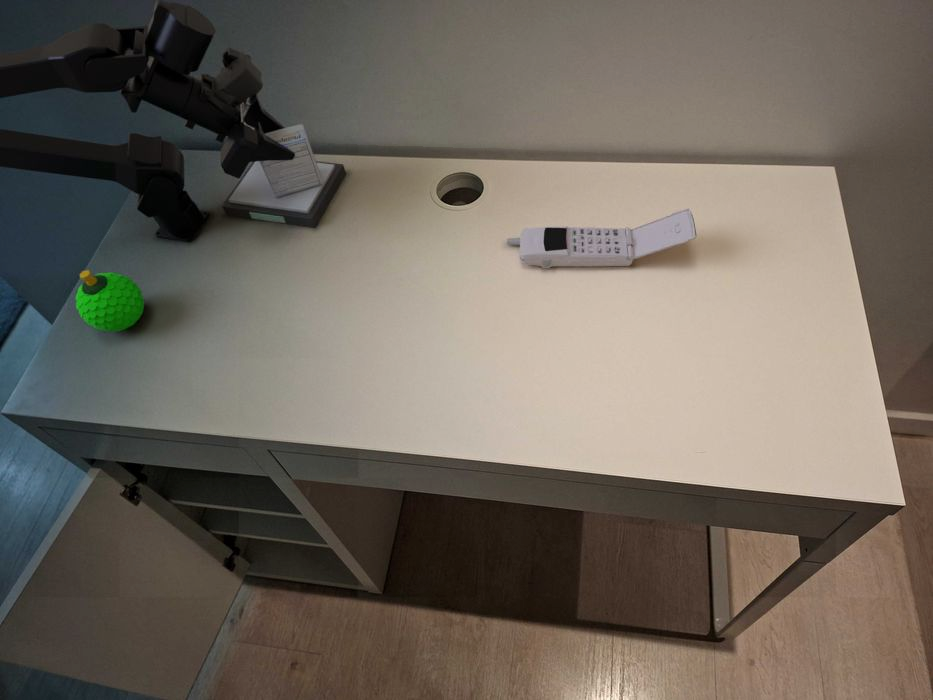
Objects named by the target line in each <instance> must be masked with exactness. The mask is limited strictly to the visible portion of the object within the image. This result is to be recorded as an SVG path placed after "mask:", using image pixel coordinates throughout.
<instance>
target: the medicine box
mask: <svg viewBox="0 0 933 700" xmlns="http://www.w3.org/2000/svg"><path fill="white" fill-rule="evenodd" d="M265 135H266V136H268V137H270V138H271V139H273V140H275V141H276V142H278V143H280V144H281V145H283V146H285V147H286V148H288V149H289V150H291V151H292V152H294V153H295V157H294V158H293V160H272V161H269V160H268V161H259V163H260V165H261V168H262V170H263V172H264V174H265V177H266V179H267V181H268V183H269V185H270V188H271V190H272V192H273V195H274V197H279V196H282V195H286V194H289V193H293V192H296V191H300V190H303V189H307V188H310V187H314V186H317V185H322V184H323V182H322V179H321V175H320V172H319V169H318V166H317V163H316V161H317V160H316V158H315V155H314V152H313V149H312V146H311V143H310V140H309V137H308V135H307V132H306V129H305V126H304V125H303V124H302V123H299V124H295V125H291V126H288V127H285V128H284V129H280V130H276V131H272V132H269V133H265Z"/></svg>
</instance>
